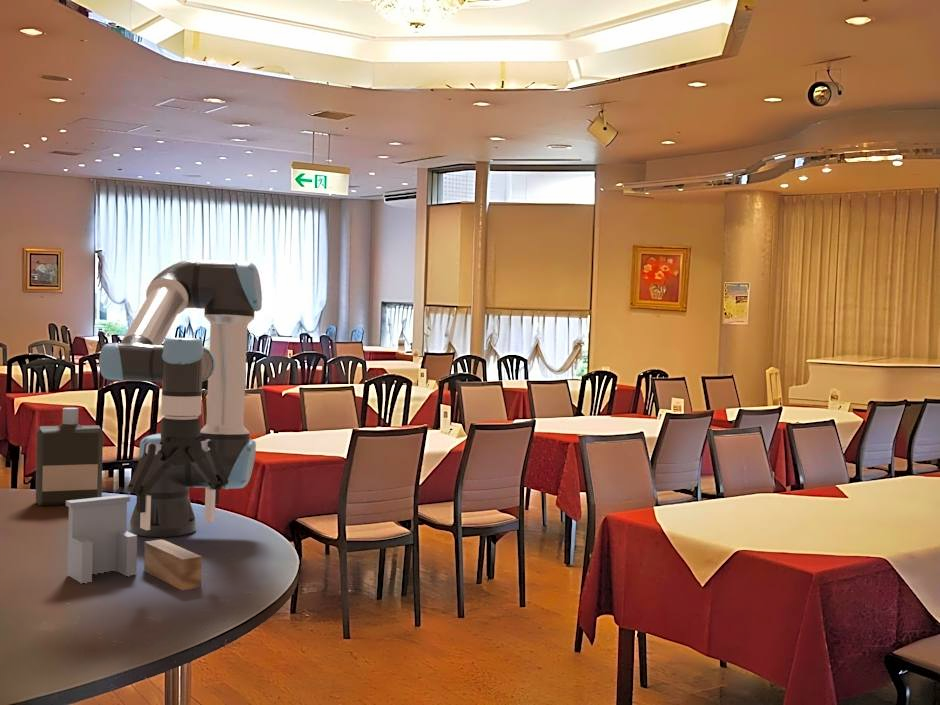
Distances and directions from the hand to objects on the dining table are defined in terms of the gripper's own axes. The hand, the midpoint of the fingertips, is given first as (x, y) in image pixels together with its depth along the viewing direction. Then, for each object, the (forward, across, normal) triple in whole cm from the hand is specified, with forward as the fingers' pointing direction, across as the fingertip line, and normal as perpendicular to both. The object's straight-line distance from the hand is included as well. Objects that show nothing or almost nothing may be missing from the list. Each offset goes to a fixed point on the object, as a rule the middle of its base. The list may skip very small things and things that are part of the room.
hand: (178, 525), depth 199 cm
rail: (+11, 0, -2) cm, 12 cm away
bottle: (+10, -11, -83) cm, 85 cm away
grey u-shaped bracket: (+11, +10, -12) cm, 19 cm away
